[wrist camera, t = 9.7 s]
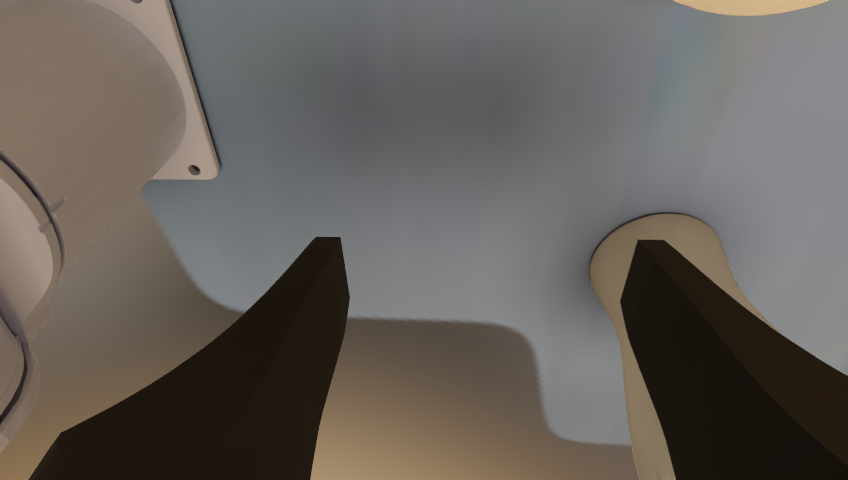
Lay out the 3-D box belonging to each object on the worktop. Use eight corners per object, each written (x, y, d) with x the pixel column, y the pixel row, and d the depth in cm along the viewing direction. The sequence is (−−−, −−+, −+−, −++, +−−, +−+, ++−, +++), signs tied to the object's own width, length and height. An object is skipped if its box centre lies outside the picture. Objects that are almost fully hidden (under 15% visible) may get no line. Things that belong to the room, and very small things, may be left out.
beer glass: (555, 294, 27) (637, 658, 15) (626, 185, 22) (820, 567, 11) (674, 326, 28) (841, 689, 16) (762, 227, 23) (1081, 619, 12)
